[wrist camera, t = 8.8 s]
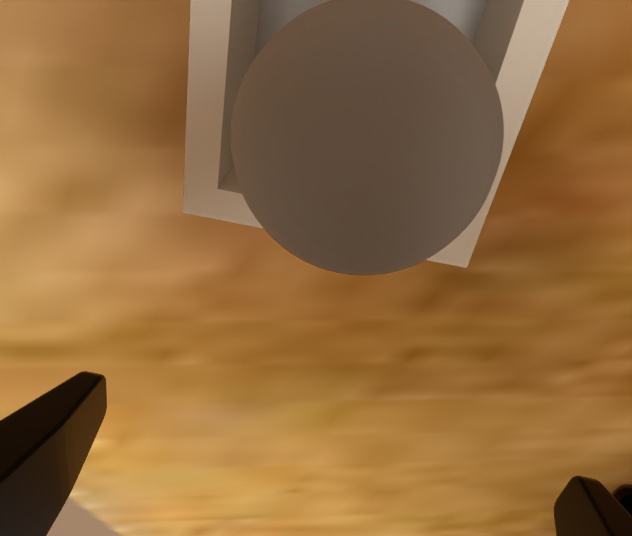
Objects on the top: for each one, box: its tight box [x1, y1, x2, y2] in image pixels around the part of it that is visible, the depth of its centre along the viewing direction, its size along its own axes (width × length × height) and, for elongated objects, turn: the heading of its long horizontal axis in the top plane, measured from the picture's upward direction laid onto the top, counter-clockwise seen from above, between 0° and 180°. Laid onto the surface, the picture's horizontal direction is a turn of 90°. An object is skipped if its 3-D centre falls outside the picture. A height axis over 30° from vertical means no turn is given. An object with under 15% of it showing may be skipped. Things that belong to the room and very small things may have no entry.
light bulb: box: [230, 0, 504, 275], centre depth 13 cm, size 6×6×10 cm
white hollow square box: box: [183, 0, 569, 268], centre depth 16 cm, size 9×9×5 cm
